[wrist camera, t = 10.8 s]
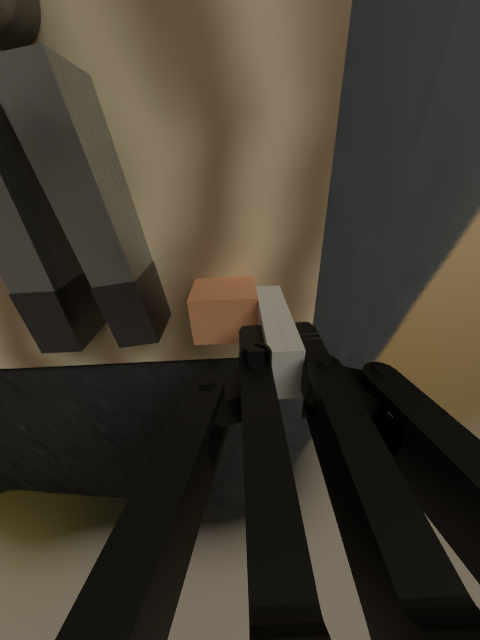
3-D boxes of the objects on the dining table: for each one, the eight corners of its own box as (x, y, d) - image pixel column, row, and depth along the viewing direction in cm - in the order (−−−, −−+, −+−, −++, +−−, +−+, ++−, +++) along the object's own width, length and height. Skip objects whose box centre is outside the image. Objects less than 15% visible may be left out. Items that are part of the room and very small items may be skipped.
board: (-41, 362, 22) (-54, 371, 21) (-366, -45, 10) (-432, -68, 9) (305, 345, 22) (309, 353, 21) (352, -86, 10) (365, -114, 9)
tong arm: (41, 85, 12) (-27, 55, 9) (91, 75, 12) (41, 41, 9) (138, 318, 19) (119, 348, 15) (171, 313, 18) (158, 342, 15)
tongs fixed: (-108, -78, 9) (-302, -218, 6) (14, -85, 9) (-111, -231, 6) (73, 323, 19) (37, 357, 15) (136, 320, 19) (114, 353, 15)
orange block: (200, 316, 19) (194, 345, 16) (195, 278, 17) (186, 301, 14) (254, 314, 19) (258, 342, 16) (253, 275, 17) (258, 298, 14)
